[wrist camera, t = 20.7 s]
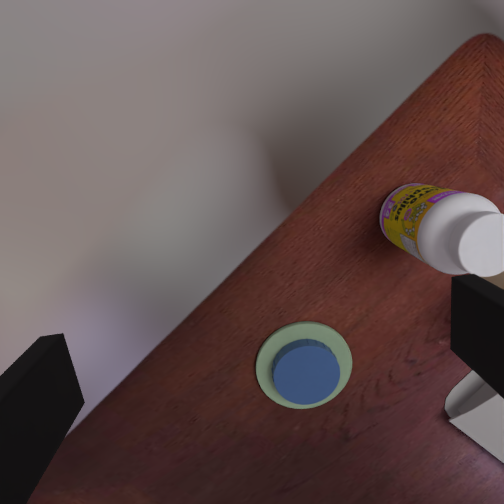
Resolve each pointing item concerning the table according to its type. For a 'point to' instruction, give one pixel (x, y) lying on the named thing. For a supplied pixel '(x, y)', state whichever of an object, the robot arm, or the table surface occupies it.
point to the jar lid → (305, 371)
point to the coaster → (292, 334)
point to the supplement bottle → (446, 229)
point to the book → (478, 413)
